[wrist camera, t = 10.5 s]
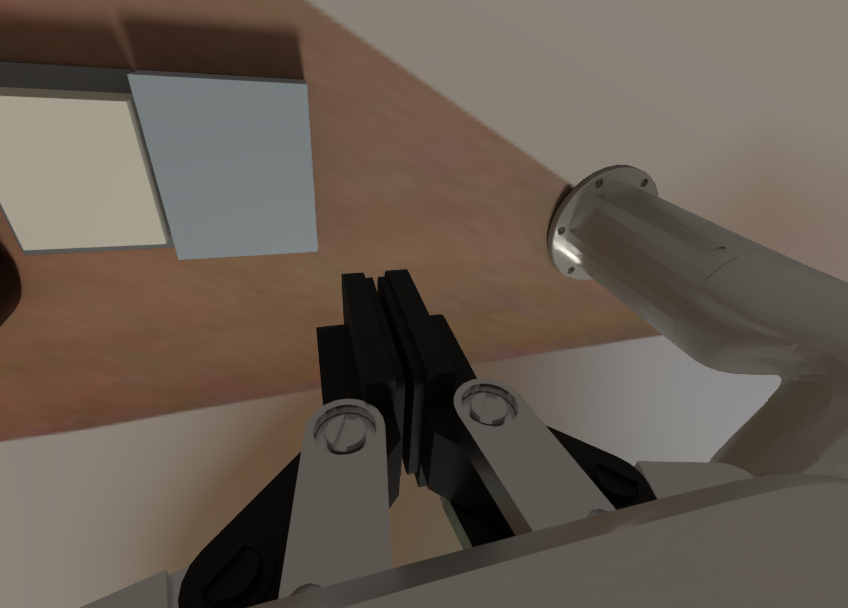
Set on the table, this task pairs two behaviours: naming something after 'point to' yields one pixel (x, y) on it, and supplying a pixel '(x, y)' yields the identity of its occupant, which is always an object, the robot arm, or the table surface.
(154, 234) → the tile
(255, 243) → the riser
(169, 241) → the mat
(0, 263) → the ink bottle
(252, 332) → the table surface
